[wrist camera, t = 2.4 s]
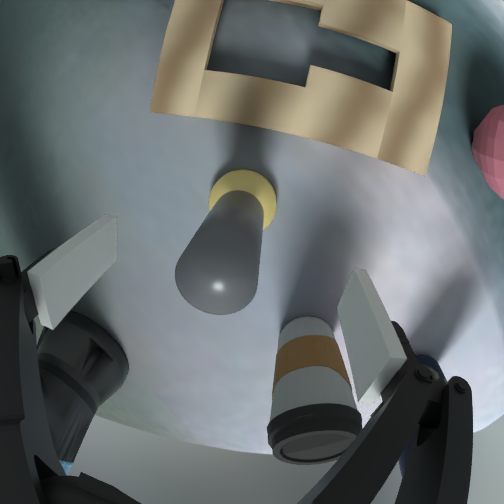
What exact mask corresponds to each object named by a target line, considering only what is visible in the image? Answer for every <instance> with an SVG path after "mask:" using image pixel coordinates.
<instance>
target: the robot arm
mask: <svg viewBox="0 0 504 504" xmlns="http://www.w3.org/2000/svg"><path fill="white" fill-rule="evenodd" d="M116 260H117V246H116V216H111V215H106V214H105V215H103V216H102V217H100V218H99V219H97V220H96V221H94V222H93V223H92V224H90V225H89V226H87V227H86V228H84V229H83V230H81V231H80V232H79V233H77V234H76V235H74V236H73V237H72V238H70V239H69V240H67V241H66V242H65V243H63V244H62V245H61V246H59V247H58V248H55V249H52V250H50V251H48V252H46V253H45V254H44V255H42V257H40V258H39V259H37V260H36V261H35V262H33V263H32V264H31V265H30V266H28V267H27V268H26V269H25V270H23V271H22V272H21V270H20V266H19V261H18V258H17V257H16V256H13V255H6V256H2V257H0V504H141V503H139V502H137V501H136V500H134V499H132V498H131V497H129V496H128V495H126V494H124V493H123V492H121V491H120V490H118V489H117V488H115V487H114V486H112V485H109V484H107V483H105V482H102V481H100V480H97V479H95V478H93V477H91V476H89V475H86V474H84V473H82V472H81V473H80V476H79V477H76V476H67V473H68V471H69V470H70V468H71V466H73V465H74V460H75V457H76V455H77V453H78V450H79V448H80V446H81V443H82V441H83V439H84V436H85V434H86V432H87V430H88V428H89V425H90V423H91V421H92V419H93V417H94V415H95V413H96V411H97V409H98V407H99V406H100V405H101V404H103V403H104V402H105V401H106V400H107V399H108V398H109V397H110V396H111V395H113V394H114V393H115V392H116V391H117V390H118V389H119V388H120V387H121V386H122V385H123V383H124V381H125V379H126V377H127V374H128V370H129V367H128V362H127V359H126V357H125V355H124V353H123V351H122V349H121V348H120V347H119V345H118V344H117V343H116V341H115V340H114V339H113V338H112V337H111V336H110V335H109V334H108V333H107V332H106V331H105V330H104V329H102V328H101V327H100V326H98V325H97V324H96V323H94V322H93V321H91V320H90V319H88V318H86V317H84V316H82V315H80V314H77V313H74V312H69V311H70V310H71V309H72V308H73V306H74V305H75V304H76V303H77V302H78V301H79V300H80V299H81V297H82V296H83V295H84V294H85V293H86V292H87V291H88V290H89V289H90V288H91V287H92V286H93V284H94V283H95V282H96V281H97V280H98V279H99V278H100V277H101V276H102V275H103V274H104V273H105V272H106V271H107V270H108V269H109V268H110V267H111V266H112V265H113V264H114V262H115V261H116ZM337 312H338V316H339V319H340V323H341V327H342V332H343V336H344V340H345V344H346V348H347V353H348V357H349V361H350V366H351V370H352V375H353V380H354V384H355V389H356V394H357V399H358V402H365V403H374V402H375V401H376V399H377V398H378V397H379V396H380V394H381V397H382V400H383V402H382V403H381V404H380V405H379V406H378V408H377V409H376V410H375V411H374V412H373V413H372V414H371V418H370V420H369V421H368V422H367V424H366V425H365V426H364V428H363V429H362V430H361V432H360V433H359V434H358V436H357V437H356V438H355V440H354V441H353V442H352V443H351V445H350V446H349V447H348V448H347V450H346V451H345V452H344V453H343V455H342V456H341V457H340V458H339V459H338V461H337V462H336V463H335V464H334V465H333V466H332V468H331V469H330V470H329V471H328V472H327V473H326V474H325V475H324V476H323V478H322V479H321V480H320V481H319V482H318V483H317V484H316V485H315V486H314V487H313V488H312V489H311V490H310V491H309V492H308V493H307V494H306V495H305V496H304V497H303V498H302V499H301V500H300V501H299V502H298V503H297V504H370V503H371V502H372V501H373V499H374V498H375V496H376V494H377V493H378V491H379V490H380V489H381V487H382V486H383V484H384V483H385V481H386V480H387V478H388V476H389V475H390V473H391V471H392V470H393V468H394V466H395V465H396V463H397V461H398V460H399V458H400V456H401V454H402V452H403V451H404V449H405V447H406V445H407V443H408V441H409V439H410V437H411V435H412V433H413V437H412V441H411V446H410V451H409V455H408V459H407V463H406V467H405V471H404V475H403V478H402V482H401V485H400V489H399V492H398V495H397V498H396V501H395V504H467V499H468V493H469V486H470V476H471V465H472V448H473V407H472V391H471V387H470V386H469V384H468V382H467V381H466V380H465V379H463V378H461V377H458V376H453V377H452V378H451V379H450V380H449V381H448V382H447V383H444V382H441V381H437V380H435V378H434V375H433V373H432V372H431V370H430V369H428V368H427V367H426V366H424V365H422V364H418V361H417V359H416V357H415V355H414V352H413V350H412V348H411V346H410V344H409V341H408V339H407V338H406V335H405V333H404V331H403V329H402V328H401V327H400V325H399V324H398V323H397V322H395V321H391V320H390V318H389V316H388V314H387V312H386V310H385V307H384V305H383V303H382V301H381V299H380V297H379V295H378V293H377V291H376V289H375V287H374V285H373V283H372V281H371V279H370V277H369V275H368V273H367V271H366V270H364V269H359V268H355V267H353V270H352V272H351V275H350V277H349V280H348V282H347V285H346V287H345V290H344V292H343V295H342V297H341V299H340V302H339V304H338V306H337ZM37 315H39V319H40V322H41V324H42V325H44V327H43V329H42V333H41V335H40V338H39V341H38V344H36V325H35V322H34V318H35V317H36V316H37Z"/></svg>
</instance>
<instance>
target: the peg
mask: <svg viewBox="0 0 504 504" xmlns="http://www.w3.org/2000/svg"><path fill="white" fill-rule="evenodd" d="M209 209H210V212H209V214H208V215H207V217H206V218H205V220H204V221H203V223H202V224H201V226H200V227H199V229H198V230H197V232H196V234H195V235H194V237H193V238H192V240H191V241H190V243H189V244H188V246H187V248H186V249H185V251H184V252H183V254H182V255H181V257H180V259H179V260H178V262H177V265H176V269H175V280H176V284H177V287H178V290H179V292H180V293H181V295H182V296H183V297H184V299H185V300H186V301H187V302H188V303H190V304H191V305H192V306H194V307H195V308H197V309H199V310H201V311H203V312H206V313H210V314H215V315H226V314H231V313H235V312H237V311H240V310H241V309H243V308H245V307H246V306H247V305H248V304H249V303H250V302H251V301H252V299H253V298H254V296H255V293H256V290H257V285H258V274H259V264H260V254H261V243H262V232H263V229H265V228H266V227H267V226H268V225H269V224H270V222H271V221H272V219H273V217H274V215H275V212H276V195H275V191H274V189H273V187H272V185H271V183H270V182H269V181H268V180H267V179H266V178H265V177H264V176H263V175H261V174H259V173H257V172H255V171H252V170H247V169H239V170H234V171H231V172H228V173H227V174H225V175H224V176H222V177H221V178H220V179H219V180H218V181H217V182H216V184H215V185H214V186H213V188H212V190H211V193H210V196H209Z"/></svg>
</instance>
